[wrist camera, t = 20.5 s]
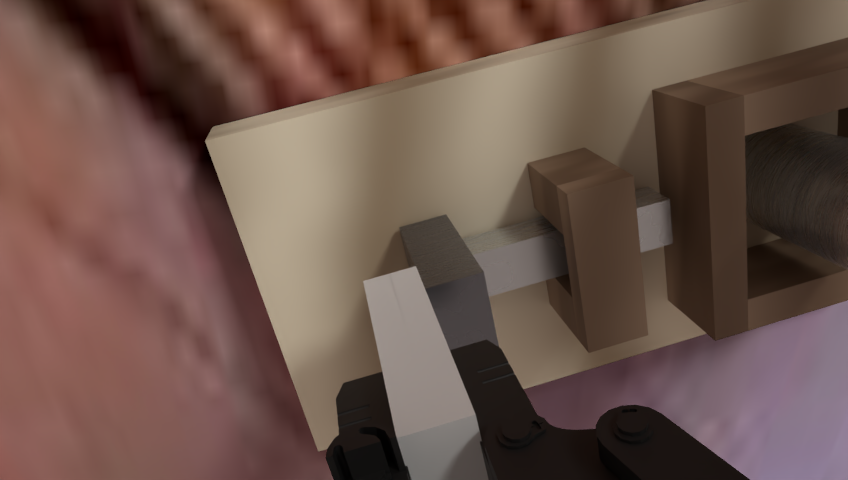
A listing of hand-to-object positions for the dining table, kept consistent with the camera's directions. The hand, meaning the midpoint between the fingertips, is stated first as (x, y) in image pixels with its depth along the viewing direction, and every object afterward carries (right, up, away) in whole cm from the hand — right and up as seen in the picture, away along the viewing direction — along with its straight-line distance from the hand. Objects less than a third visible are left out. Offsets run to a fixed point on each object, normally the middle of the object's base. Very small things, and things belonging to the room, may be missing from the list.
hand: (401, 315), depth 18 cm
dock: (+7, +4, +6) cm, 10 cm away
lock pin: (+4, +2, +4) cm, 6 cm away
